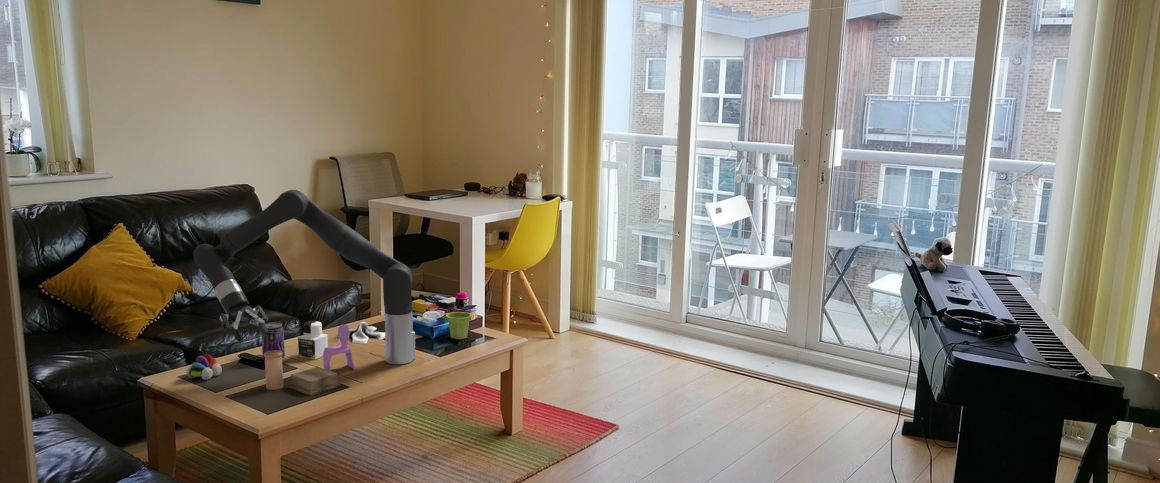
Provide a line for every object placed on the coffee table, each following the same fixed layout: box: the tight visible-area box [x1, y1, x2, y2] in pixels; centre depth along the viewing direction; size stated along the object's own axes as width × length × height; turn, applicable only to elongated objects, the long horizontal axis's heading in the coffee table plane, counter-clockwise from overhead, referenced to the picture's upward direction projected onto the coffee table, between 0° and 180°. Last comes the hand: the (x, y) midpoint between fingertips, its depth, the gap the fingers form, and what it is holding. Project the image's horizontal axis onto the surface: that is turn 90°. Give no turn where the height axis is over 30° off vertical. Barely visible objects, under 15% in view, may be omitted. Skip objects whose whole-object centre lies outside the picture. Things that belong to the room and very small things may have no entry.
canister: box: [264, 350, 284, 391], centre depth 266 cm, size 5×5×11 cm
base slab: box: [287, 366, 342, 396], centre depth 267 cm, size 11×11×4 cm
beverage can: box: [261, 322, 286, 359], centre depth 292 cm, size 7×7×12 cm
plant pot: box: [445, 311, 472, 340], centre depth 322 cm, size 9×9×9 cm
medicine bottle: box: [297, 320, 329, 360], centre depth 297 cm, size 7×7×12 cm
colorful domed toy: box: [185, 353, 223, 381], centre depth 274 cm, size 8×10×7 cm
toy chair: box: [322, 323, 356, 371], centre depth 282 cm, size 8×9×15 cm
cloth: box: [338, 321, 385, 345], centre depth 321 cm, size 22×19×6 cm
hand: (254, 338), depth 270 cm, fingers open, 8 cm apart
